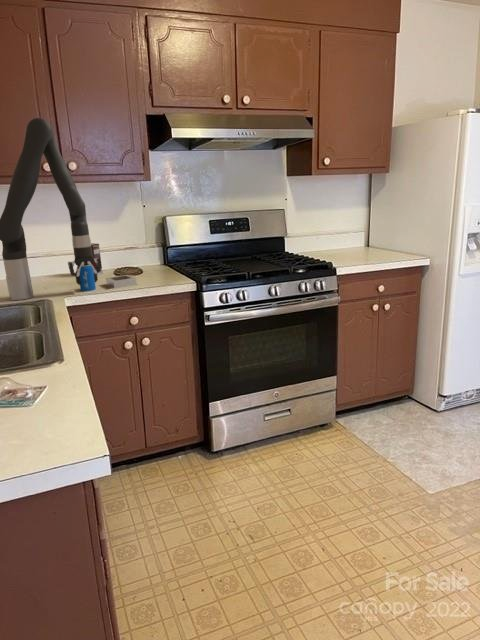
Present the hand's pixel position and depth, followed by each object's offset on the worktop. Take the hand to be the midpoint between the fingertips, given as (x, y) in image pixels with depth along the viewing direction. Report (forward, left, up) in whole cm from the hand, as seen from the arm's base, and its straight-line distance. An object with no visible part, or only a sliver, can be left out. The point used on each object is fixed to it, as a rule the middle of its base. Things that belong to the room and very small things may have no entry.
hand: (87, 283), depth 212 cm
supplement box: (+14, +37, -4) cm, 40 cm away
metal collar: (+15, -1, -3) cm, 15 cm away
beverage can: (0, 0, -4) cm, 4 cm away
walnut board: (+13, -1, -4) cm, 14 cm away
